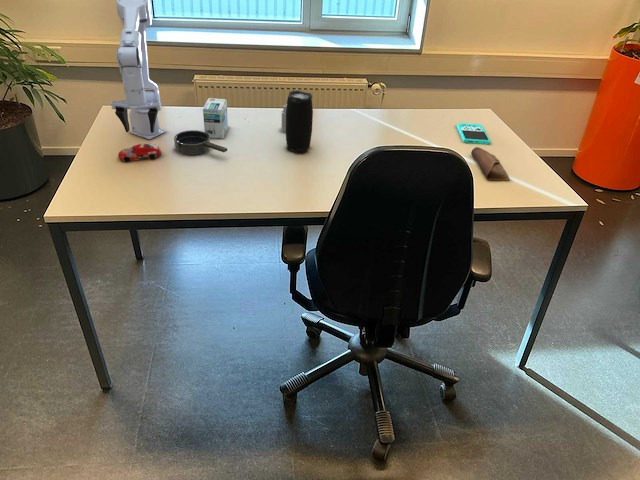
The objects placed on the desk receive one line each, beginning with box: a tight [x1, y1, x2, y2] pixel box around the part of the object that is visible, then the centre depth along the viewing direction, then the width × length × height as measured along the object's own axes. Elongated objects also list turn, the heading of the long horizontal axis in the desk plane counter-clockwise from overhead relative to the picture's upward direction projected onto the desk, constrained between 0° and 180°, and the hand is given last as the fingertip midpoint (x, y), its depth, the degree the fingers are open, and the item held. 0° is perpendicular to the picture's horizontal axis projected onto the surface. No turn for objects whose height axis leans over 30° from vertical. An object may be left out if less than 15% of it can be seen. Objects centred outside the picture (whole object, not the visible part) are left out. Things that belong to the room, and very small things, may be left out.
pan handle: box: [204, 141, 228, 153], centre depth 172 cm, size 8×2×1 cm, turn 60°
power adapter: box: [280, 101, 287, 133], centre depth 190 cm, size 3×5×12 cm, turn 92°
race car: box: [117, 143, 162, 163], centre depth 169 cm, size 13×5×4 cm, turn 109°
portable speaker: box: [284, 90, 314, 155], centre depth 176 cm, size 9×9×20 cm
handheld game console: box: [456, 122, 491, 145], centre depth 200 cm, size 10×16×1 cm, turn 178°
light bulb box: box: [202, 97, 229, 139], centre depth 186 cm, size 11×7×11 cm, turn 179°
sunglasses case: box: [470, 146, 510, 182], centre depth 177 cm, size 18×7×7 cm
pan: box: [173, 129, 211, 156], centre depth 176 cm, size 12×12×4 cm
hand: (140, 131), depth 164 cm, fingers open, 7 cm apart
